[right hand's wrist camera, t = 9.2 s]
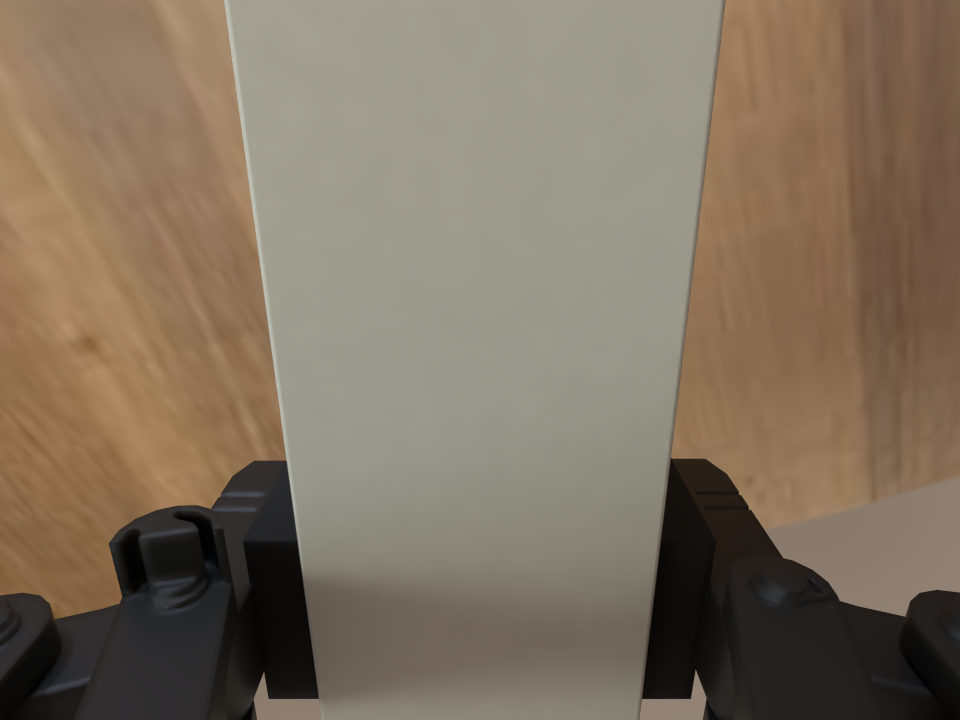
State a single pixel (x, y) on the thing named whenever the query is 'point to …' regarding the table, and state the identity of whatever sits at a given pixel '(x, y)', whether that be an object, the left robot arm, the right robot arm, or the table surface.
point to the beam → (477, 333)
